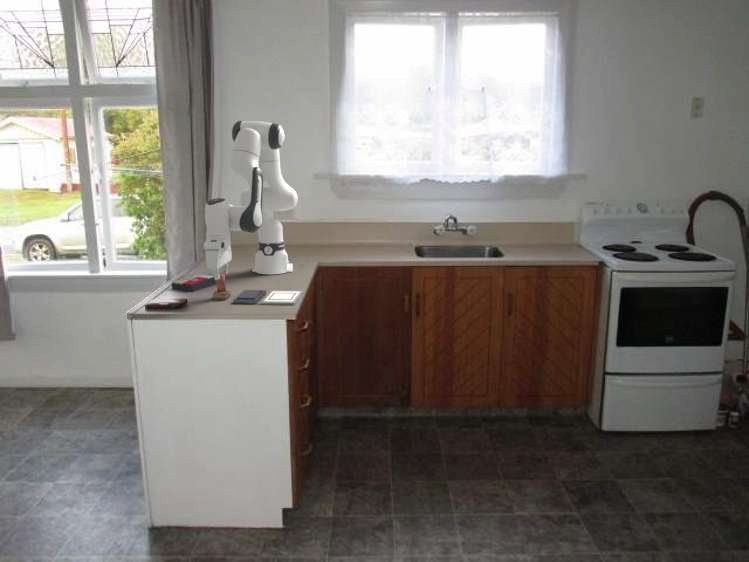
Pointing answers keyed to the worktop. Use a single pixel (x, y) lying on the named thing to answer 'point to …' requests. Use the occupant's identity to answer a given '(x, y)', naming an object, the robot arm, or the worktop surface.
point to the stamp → (221, 289)
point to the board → (281, 298)
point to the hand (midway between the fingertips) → (221, 276)
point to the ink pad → (249, 297)
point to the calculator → (193, 282)
